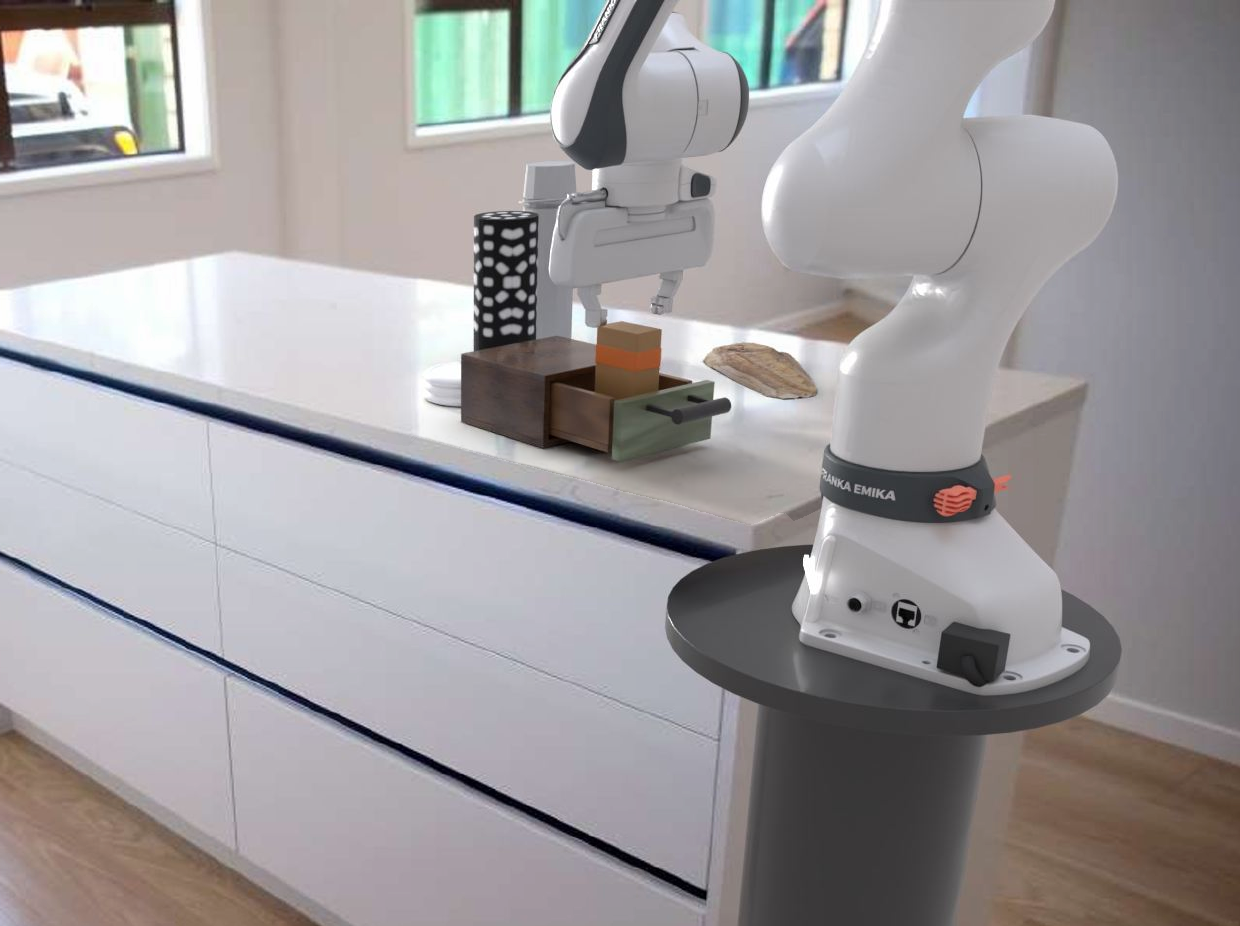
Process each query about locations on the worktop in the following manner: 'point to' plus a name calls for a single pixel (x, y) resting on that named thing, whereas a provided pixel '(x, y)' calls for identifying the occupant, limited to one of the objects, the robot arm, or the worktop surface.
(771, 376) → the fish fossil
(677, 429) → the drawer
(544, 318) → the water bottle
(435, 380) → the white round shallow piece
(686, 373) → the worktop surface
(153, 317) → the worktop surface
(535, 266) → the white-spotted black cylinder
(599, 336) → the block
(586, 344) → the cabinet
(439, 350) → the worktop surface
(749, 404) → the worktop surface
